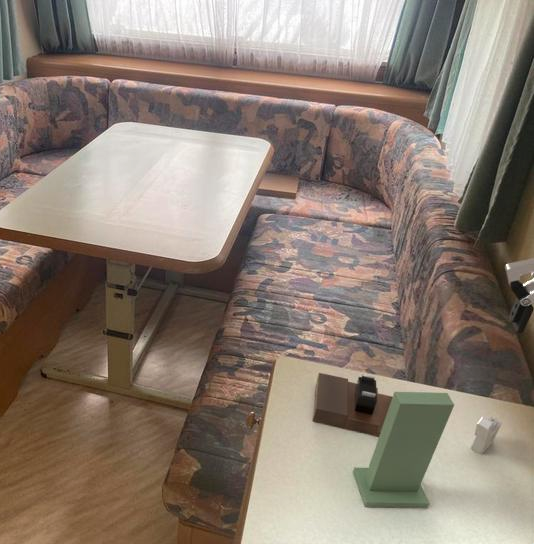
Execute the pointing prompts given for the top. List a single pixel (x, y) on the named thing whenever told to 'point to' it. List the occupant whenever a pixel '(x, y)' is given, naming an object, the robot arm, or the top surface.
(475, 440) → the white blocky piece
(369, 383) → the clip
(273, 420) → the top surface
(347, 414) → the brown stepped wooden block
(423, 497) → the stand
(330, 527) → the top surface
